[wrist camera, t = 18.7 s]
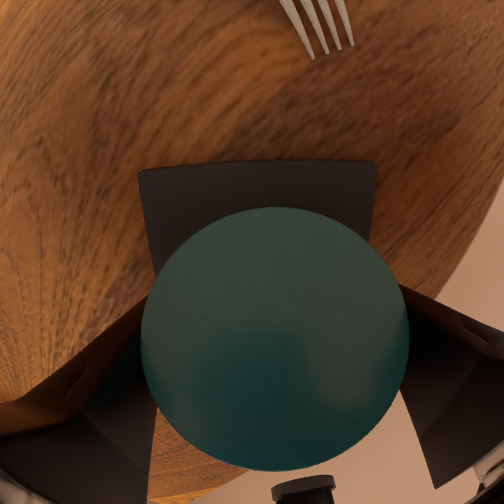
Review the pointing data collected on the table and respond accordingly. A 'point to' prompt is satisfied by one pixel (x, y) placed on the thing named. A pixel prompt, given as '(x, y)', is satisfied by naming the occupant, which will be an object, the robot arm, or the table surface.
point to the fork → (307, 4)
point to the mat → (251, 195)
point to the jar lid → (274, 339)
